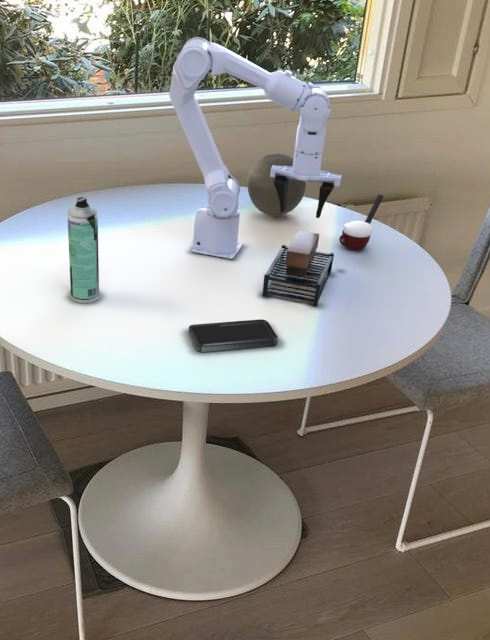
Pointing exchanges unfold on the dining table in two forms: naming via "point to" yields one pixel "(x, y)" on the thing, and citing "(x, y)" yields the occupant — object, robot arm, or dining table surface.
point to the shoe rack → (317, 284)
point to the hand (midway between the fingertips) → (300, 213)
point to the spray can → (83, 252)
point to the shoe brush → (301, 253)
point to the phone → (232, 335)
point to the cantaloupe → (272, 186)
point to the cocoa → (359, 230)
